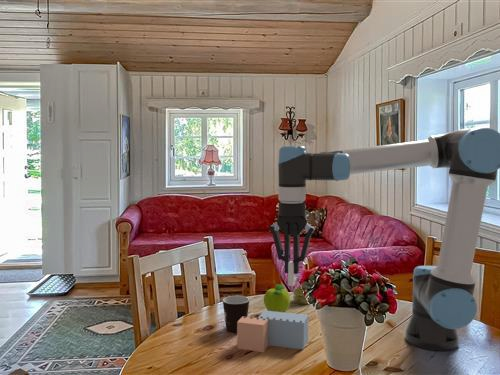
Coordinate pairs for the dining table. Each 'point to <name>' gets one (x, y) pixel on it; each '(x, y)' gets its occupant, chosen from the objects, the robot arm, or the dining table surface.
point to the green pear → (299, 295)
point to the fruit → (277, 299)
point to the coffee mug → (234, 311)
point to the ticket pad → (286, 329)
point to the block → (252, 334)
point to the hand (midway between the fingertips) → (291, 284)
